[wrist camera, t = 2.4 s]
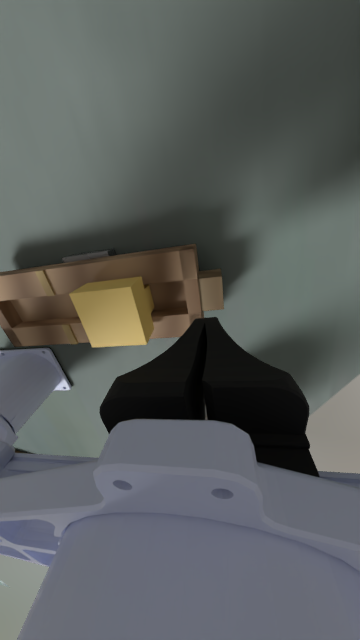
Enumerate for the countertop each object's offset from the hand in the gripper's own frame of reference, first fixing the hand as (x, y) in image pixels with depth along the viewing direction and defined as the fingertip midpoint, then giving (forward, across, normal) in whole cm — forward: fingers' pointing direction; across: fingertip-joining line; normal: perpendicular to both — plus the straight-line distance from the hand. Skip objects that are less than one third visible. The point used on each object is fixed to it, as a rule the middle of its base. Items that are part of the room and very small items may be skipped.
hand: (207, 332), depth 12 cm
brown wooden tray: (+9, +11, 0) cm, 14 cm away
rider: (+7, +8, 0) cm, 11 cm away
